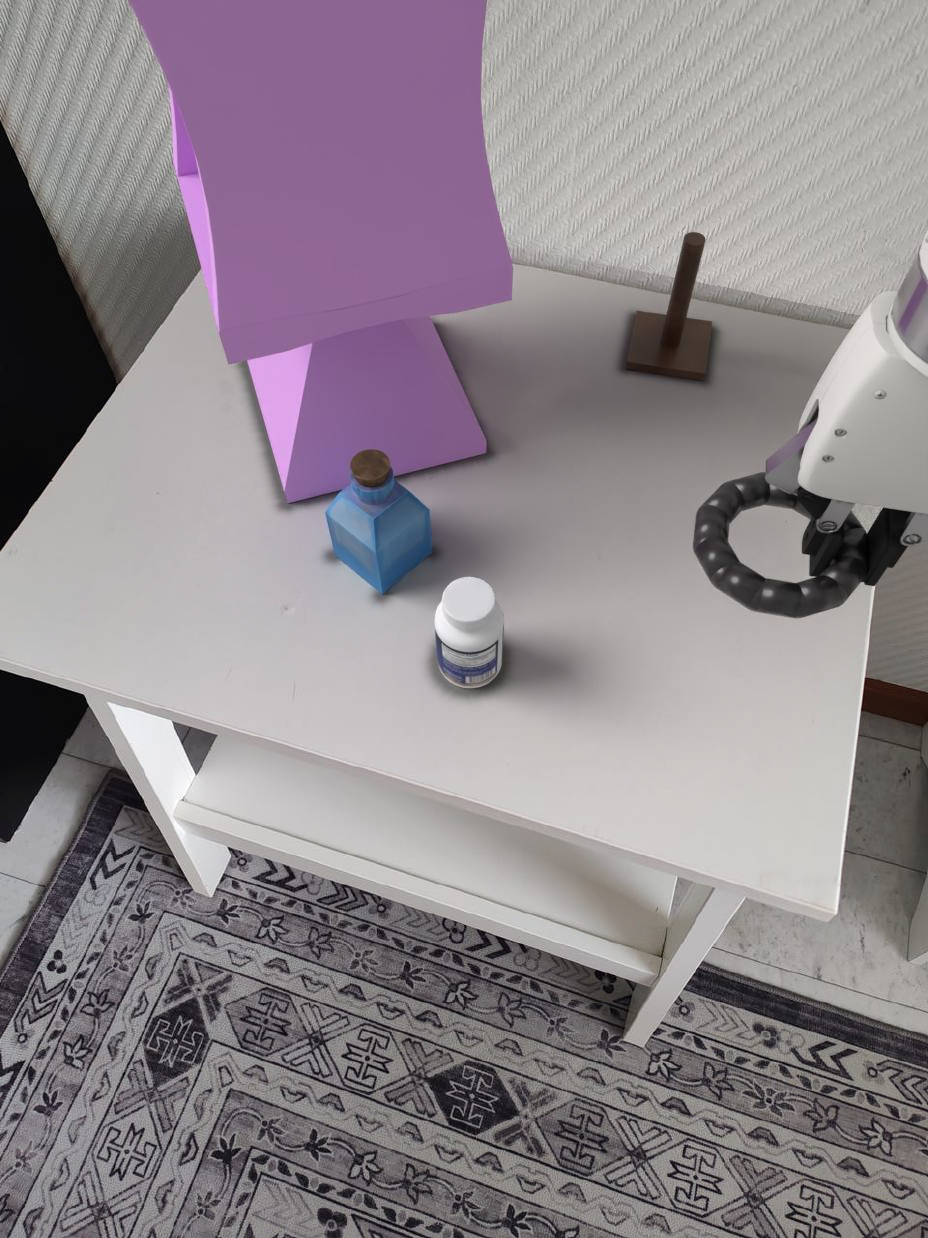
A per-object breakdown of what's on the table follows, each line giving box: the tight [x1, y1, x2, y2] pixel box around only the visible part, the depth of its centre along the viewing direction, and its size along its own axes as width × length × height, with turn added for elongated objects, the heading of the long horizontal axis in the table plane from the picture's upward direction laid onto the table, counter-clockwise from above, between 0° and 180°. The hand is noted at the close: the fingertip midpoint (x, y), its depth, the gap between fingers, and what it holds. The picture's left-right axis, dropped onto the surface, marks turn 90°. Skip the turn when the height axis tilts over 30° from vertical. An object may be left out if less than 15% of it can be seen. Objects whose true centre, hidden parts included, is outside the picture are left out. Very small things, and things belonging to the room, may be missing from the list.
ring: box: [692, 471, 868, 620], centre depth 52 cm, size 10×10×2 cm
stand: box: [625, 231, 713, 381], centre depth 87 cm, size 8×8×13 cm
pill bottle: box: [434, 576, 505, 689], centre depth 69 cm, size 5×5×10 cm
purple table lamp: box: [127, 0, 514, 504], centre depth 70 cm, size 22×22×45 cm
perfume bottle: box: [324, 449, 433, 596], centre depth 74 cm, size 6×6×12 cm
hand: (841, 560), depth 53 cm, fingers closed on ring, 2 cm apart
